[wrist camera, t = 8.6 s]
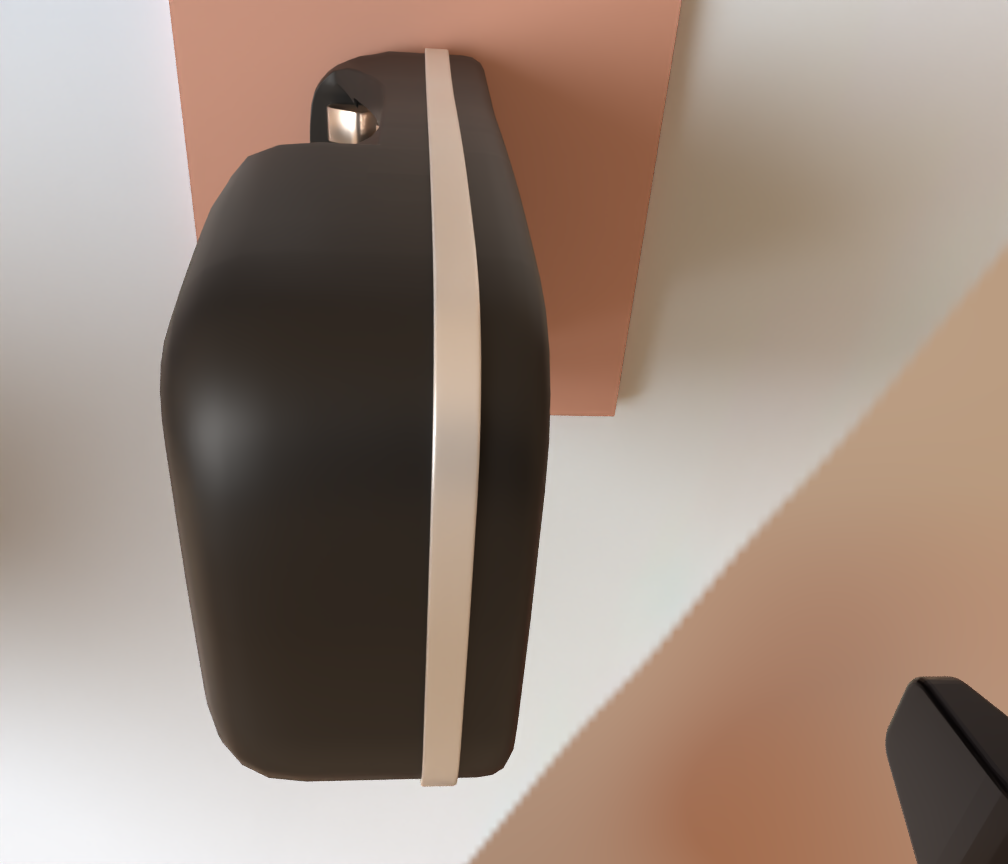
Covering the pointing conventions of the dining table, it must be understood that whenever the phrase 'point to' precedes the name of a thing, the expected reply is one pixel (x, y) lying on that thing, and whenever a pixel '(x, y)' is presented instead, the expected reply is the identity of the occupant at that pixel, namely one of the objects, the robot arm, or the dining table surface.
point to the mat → (518, 110)
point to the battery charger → (364, 434)
